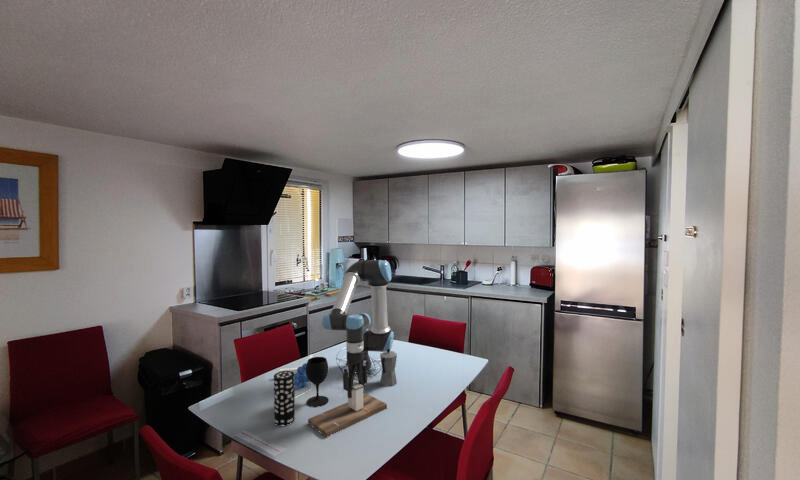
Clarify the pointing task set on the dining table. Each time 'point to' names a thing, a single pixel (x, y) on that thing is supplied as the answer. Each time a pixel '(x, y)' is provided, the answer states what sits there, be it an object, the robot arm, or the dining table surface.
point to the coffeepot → (388, 368)
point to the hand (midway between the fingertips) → (355, 402)
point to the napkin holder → (289, 370)
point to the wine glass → (317, 379)
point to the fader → (357, 397)
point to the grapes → (301, 376)
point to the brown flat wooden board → (345, 416)
